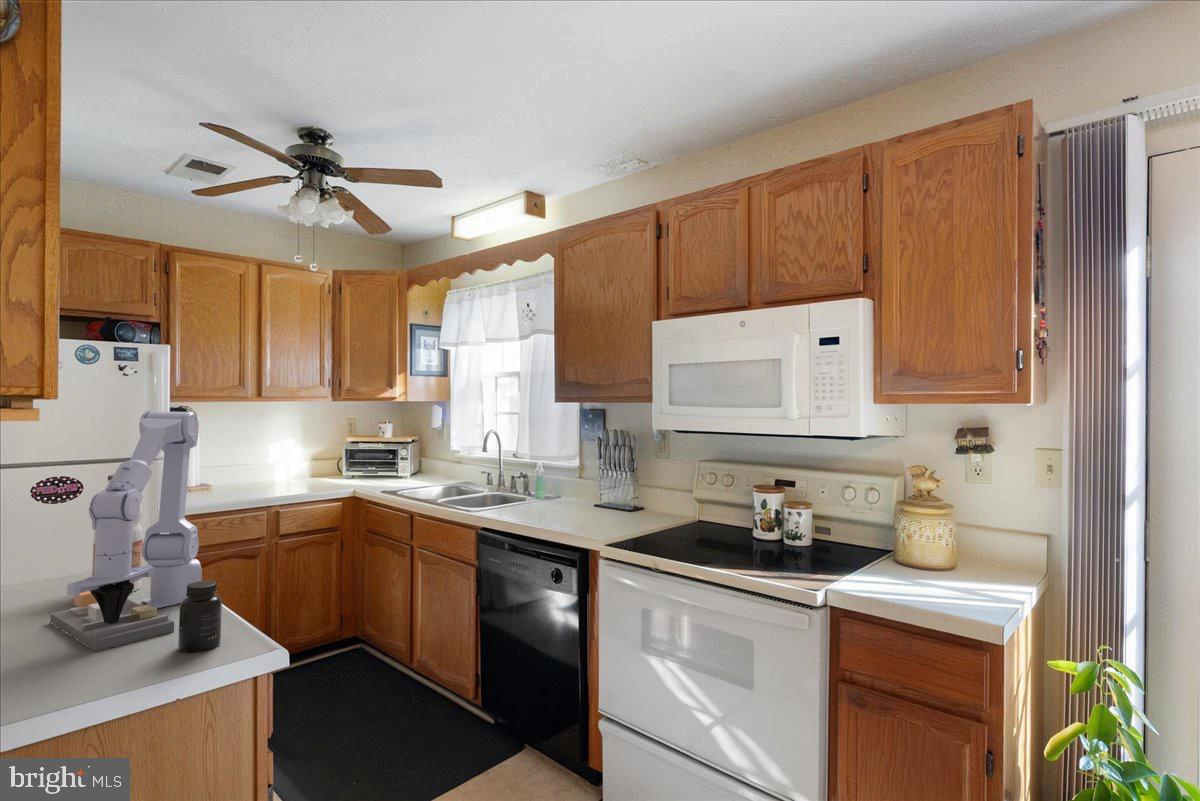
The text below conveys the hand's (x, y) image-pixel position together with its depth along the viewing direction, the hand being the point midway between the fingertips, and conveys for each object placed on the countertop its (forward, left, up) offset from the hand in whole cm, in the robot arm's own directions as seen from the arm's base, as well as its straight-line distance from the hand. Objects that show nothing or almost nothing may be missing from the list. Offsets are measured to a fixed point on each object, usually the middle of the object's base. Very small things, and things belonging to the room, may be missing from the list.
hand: (111, 622), depth 121 cm
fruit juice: (-13, -34, -3) cm, 36 cm away
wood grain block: (-5, 0, -1) cm, 6 cm away
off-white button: (-1, -8, -1) cm, 8 cm away
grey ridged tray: (-3, -7, -3) cm, 8 cm away
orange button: (-1, -16, 0) cm, 16 cm away
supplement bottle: (-9, +17, -3) cm, 19 cm away
